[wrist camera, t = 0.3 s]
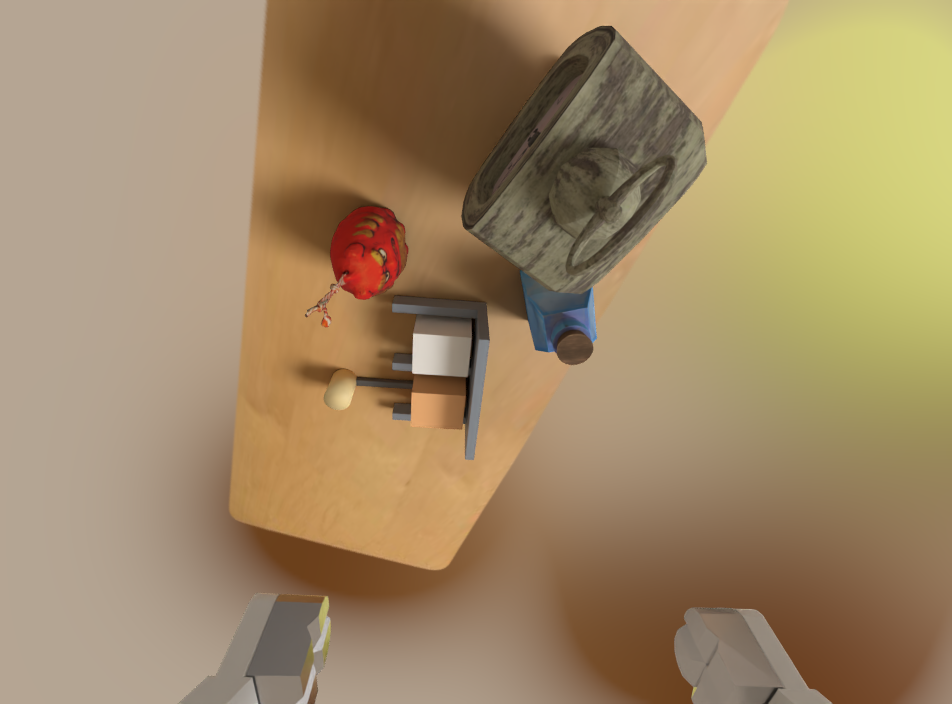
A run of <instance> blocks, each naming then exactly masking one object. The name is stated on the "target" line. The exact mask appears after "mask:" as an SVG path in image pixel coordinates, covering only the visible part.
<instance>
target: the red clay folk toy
mask: <svg viewBox="0 0 952 704" xmlns="http://www.w3.org/2000/svg"><path fill="white" fill-rule="evenodd" d="M407 254H408V246H407V245H406V243H405V228H404V225H403V224H402V223H400V222H398V221H397V220H396V217H395V215H394V213H393V212H392V211H391V210H390V209H387V208H379V207H372V206H366V207H360V208H358V209H356V210H354V211H353V212H351V213H350V214H349V215H348V216H347V217H346V218H345V219H344V220H343V221H341V222H340V224H339V225H338V228H337V230H336V232H335V234H334V236H333V239H332V243H331V250H330V256H331V262H332V267H333V271H334V274H335V277H336V280H337V282H338V283H337V284H331V286H330V289H331V291H330V292H329V293H328V294H326V295H325V297H324V298H322V299H321V300H320V301H319V302H318V303H317V305H316V306H314V307H312V308H310V309H308V310H307V313H306V315H305V316H306V317H308V316H309V315H310V314H311V313H312V312H314V311H318V312H322V310H324V318H323V320H322V322H321V325H322V326H324V327H329V324H331V317H329V316H328V313H327V308H326V304H327V303H328V301H329V300H330V298H331V296H332V295H333V294H334V293H338V291H339V287H340V286H341V287H342V289H344V290H345V291H348V292H350V293H352V294H353V295H354V296H355V298H357V299H363V300H365V299H369V298H370V297H373V296H376V295H378V294H381V293H384V292H386V291H387V290H388V289H390V288H392V286H393V284H394V281H395V280H396V279H397V278H398V276H399V275H400V273H401V272H402V271H403V270H404V268H405V266H406V262H407Z"/></svg>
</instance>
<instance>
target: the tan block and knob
mask: <svg viewBox="0 0 952 704" xmlns="http://www.w3.org/2000/svg"><path fill="white" fill-rule="evenodd" d="M356 386H372V387H388V388H403V389H412V398H411V427H427V428H444V429H462V426H463V417H464V408H465V398H466V377H457V376H442V375H427V374H415V375H414V381H407V380H392V379H376V378H361V377H357V376H356V375H355V374H354V373H353V372H352V371H350V370H347V369H339V370H337V371H335V372H334V374H333V376H332V378H331V380H330V383H329V385H328V388H327V390H326V392H325V395H324V402H325V403H326V405H327V406H328V407H330V408H332V409H335V410H343V409H346V408H347V407H348V406H349V405H350V402H351V399H352V396H353V393H354V390H355V388H356Z"/></svg>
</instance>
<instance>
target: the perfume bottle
mask: <svg viewBox="0 0 952 704" xmlns="http://www.w3.org/2000/svg"><path fill="white" fill-rule="evenodd" d="M520 275H521V281H522V287H523V293H524V299H525V305H526V311H527V316H528V322H529V326H530V330H531V334H532V338H533V342H534V346H535V350H538V351H544V352H553V351H555V352H556V353H557V356H558V358H559V359H560V360H561V361H562V362H563V363H565V364H569V365H577V364H580V363H583V362H584V361H586V360H587V359H588V358H589V357H590V356H591V354H592V352H593V342H594V341H595V340H596V339H597V336H596V323H595V310H594V297H593V287H592V288H590V289H589V290H587V291H586V292H584V293H583V294H574V293H559V292H553V291H549V290H547V289H546V288H545V287H543V286H542V285H541V284H539V283H538V282H537V281H535V280H534V279H532V278H531V277H530V276H528V275H527V274H526V273H524V272H523V271H522V270H520Z"/></svg>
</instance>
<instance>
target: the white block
mask: <svg viewBox="0 0 952 704" xmlns="http://www.w3.org/2000/svg"><path fill="white" fill-rule="evenodd" d="M471 341H472V324H471V318H463V317H450V316H436V315H423V314H417V316H416V321H415V327H414V332H413V360H412V374H427V375H442V376H457V377H468V369H469V360H470V350H471Z"/></svg>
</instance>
